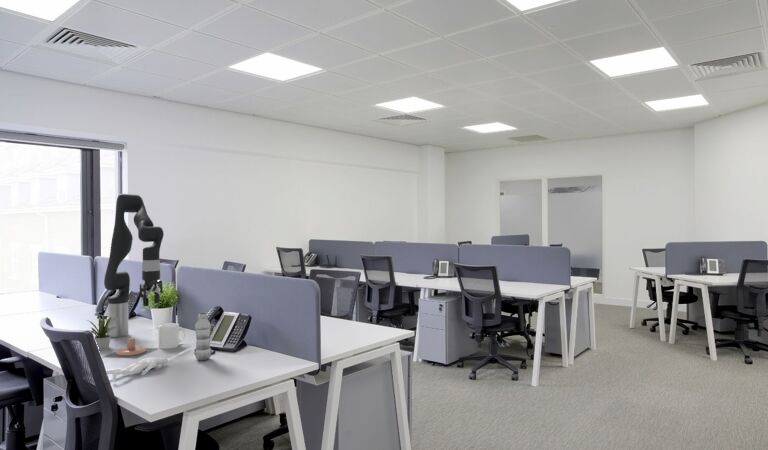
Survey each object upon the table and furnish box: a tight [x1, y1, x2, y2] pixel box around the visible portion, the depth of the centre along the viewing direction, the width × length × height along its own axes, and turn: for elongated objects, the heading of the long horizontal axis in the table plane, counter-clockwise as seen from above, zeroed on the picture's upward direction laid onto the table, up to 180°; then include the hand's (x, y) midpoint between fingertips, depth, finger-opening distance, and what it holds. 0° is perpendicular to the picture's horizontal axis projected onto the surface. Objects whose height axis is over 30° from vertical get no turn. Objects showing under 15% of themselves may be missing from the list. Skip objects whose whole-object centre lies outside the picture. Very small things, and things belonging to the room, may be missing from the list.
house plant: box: [86, 315, 118, 351], centre depth 221 cm, size 14×14×16 cm
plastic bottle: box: [194, 312, 212, 361], centre depth 205 cm, size 6×7×20 cm
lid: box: [115, 337, 147, 356], centre depth 213 cm, size 12×12×6 cm
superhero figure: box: [106, 356, 169, 383], centre depth 188 cm, size 12×6×25 cm
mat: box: [103, 347, 159, 360], centre depth 213 cm, size 16×16×1 cm
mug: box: [158, 322, 186, 350], centre depth 226 cm, size 9×12×11 cm
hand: (151, 304), depth 221 cm, fingers open, 8 cm apart
